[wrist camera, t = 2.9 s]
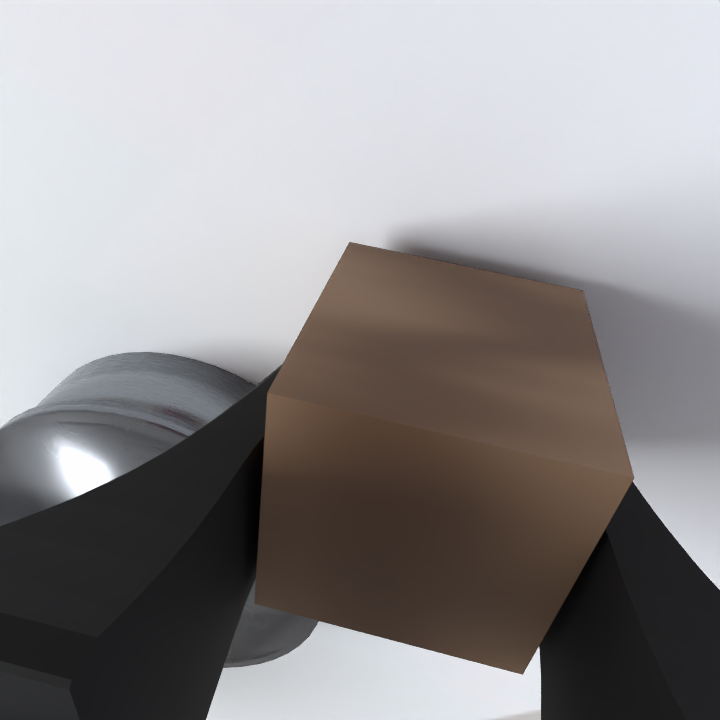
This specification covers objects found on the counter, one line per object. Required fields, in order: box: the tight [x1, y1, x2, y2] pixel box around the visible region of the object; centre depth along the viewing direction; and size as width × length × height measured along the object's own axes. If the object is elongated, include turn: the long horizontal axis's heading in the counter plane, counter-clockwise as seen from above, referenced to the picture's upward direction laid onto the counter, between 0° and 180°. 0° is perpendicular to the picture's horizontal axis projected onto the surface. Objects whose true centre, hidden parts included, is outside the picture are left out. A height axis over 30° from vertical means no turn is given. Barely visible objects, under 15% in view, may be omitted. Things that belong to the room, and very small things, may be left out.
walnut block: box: [254, 242, 634, 674], centre depth 10 cm, size 4×4×5 cm
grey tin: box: [0, 352, 318, 668], centre depth 16 cm, size 9×9×3 cm
